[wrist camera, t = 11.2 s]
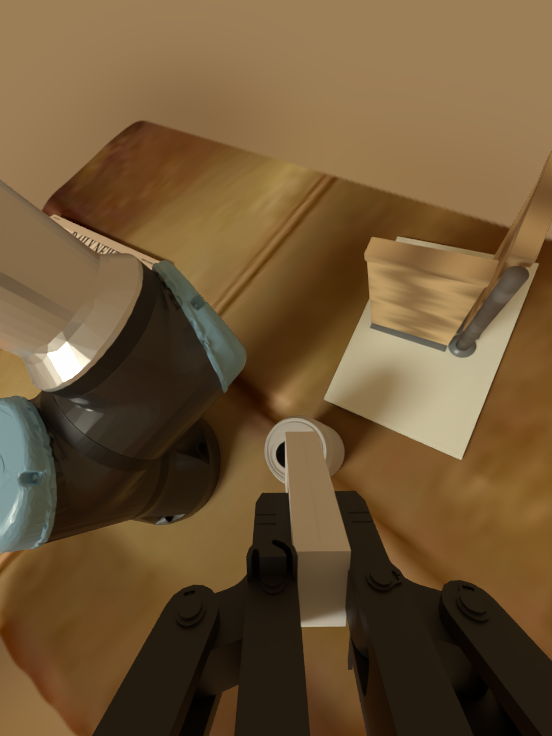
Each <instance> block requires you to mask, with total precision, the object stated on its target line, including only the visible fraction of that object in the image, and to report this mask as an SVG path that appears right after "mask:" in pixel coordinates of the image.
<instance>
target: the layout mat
mask: <svg viewBox="0 0 552 736" xmlns="http://www.w3.org/2000/svg"><path fill="white" fill-rule="evenodd" d="M396 241H397V242H402V243H408V244H413V245H418V246H424V247H429V248H434V249H440V250H445V251H450V252H455V253H461V254H466V255H471V256H477V257H482V258H487V259H493V257H494V255H492V254H487V253H482V252H477V251H472V250H466V249H461V248H456V247H451V246H446V245H440V244H435V243H430V242H425V241H420V240H414V239H409V238H404V237H399V236H398V237H397V239H396ZM538 265H539V263H533V264H532V265H531V267H526V269H527V270H528V272H529V278H528V280H527V281H526V282H525V283H524V284H523V285H522V287H521V288H520V289H519V290H518V291H517V292H516V294H515V295H514V296H513V297H512V298H511V300H510V301H509V302H508V303H507V304H506V305H505V307H504V308H503V309H502V310H501V311H500V312H499V314H498V315H497V316H496V317H495V318H494V319H493V321H492V322H491V323H490V324H489V325H488V326H487V328H486V329H485V330H484V331H483V332H482V333H481V335H480V336H479V337H478V338H477V339H476V340H475V342H474V343H473V344H472V345H471V346H470V348H469V349H468V350H465V351H461V350H459V349H457V347H456V342H457V341H458V339H459V338H460V337H461V335H462V334H463V332H464V331H463V327H464V325H465V322H466V320H467V318H468V315H469V313H470V311H469V313H468V314H467V316H466V318H465V319H464V321H463V322H462V324H461V326H460V327H459V329H458V330H457V332H456V333H455V335H454V337H453V338H452V340H451V341H450V343H449V344H448V346H447V345H444V344H440V343H437V342H434V341H430V340H427V339H424V338H420V337H417V336H414V335H410V334H407V333H404V332H400V331H397V330H394V329H390V328H387V327H384V326H380V325H377V324H374V323H371V309H370V298H369V301H368V303H367V305H366V307H365V309H364V312H363V314H362V316H361V318H360V320H359V323H358V325H357V327H356V329H355V331H354V334H353V336H352V338H351V340H350V342H349V345H348V347H347V349H346V351H345V353H344V356H343V358H342V360H341V362H340V364H339V367H338V369H337V371H336V373H335V375H334V378H333V380H332V382H331V384H330V386H329V389H328V391H327V393H326V395H325V397H324V400H326V401H328V402H330V403H332V404H335V405H337V406H339V407H341V408H344V409H346V410H348V411H351V412H353V413H355V414H357V415H360V416H362V417H364V418H366V419H369V420H371V421H373V422H375V423H378V424H380V425H382V426H384V427H387V428H389V429H391V430H394V431H396V432H398V433H400V434H403V435H405V436H407V437H409V438H412V439H414V440H416V441H418V442H421V443H423V444H425V445H428V446H430V447H432V448H434V449H437V450H439V451H441V452H443V453H446V454H448V455H450V456H452V457H455V458H457V459H459V460H461V459H462V457H463V454H464V452H465V449H466V447H467V444H468V442H469V439H470V437H471V434H472V432H473V429H474V427H475V424H476V422H477V419H478V416H479V414H480V411H481V409H482V406H483V404H484V401H485V399H486V396H487V394H488V391H489V389H490V386H491V384H492V381H493V379H494V376H495V374H496V371H497V369H498V366H499V363H500V361H501V358H502V356H503V353H504V351H505V348H506V346H507V343H508V341H509V338H510V336H511V333H512V331H513V328H514V326H515V323H516V321H517V318H518V315H519V313H520V310H521V308H522V305H523V303H524V300H525V298H526V295H527V293H528V290H529V288H530V285H531V283H532V280H533V278H534V275H535V273H536V270H537V267H538Z"/></svg>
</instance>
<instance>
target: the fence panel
mask: <svg viewBox="0 0 552 736" xmlns="http://www.w3.org/2000/svg"><path fill="white" fill-rule="evenodd" d="M364 256H365V261H367V267H368V281H369V295H370V309H371V323H374V324H377V325H380V326H384V327H387V328H390V329H394V330H397V331H400V332H404V333H407V334H410V335H414V336H417V337H420V338H424V339H427V340H430V341H434V342H437V343H440V344H444V345H447V346H448V344H449V343H450V341H451V340H452V338H453V337H454V335H455V333H456V332H457V330H458V329H459V327H460V326H461V324H462V322H463V321H464V319H465V318H466V316H467V314H468V313H469V311H470V310H471V308H472V307H473V305H474V303H475V302H476V300H477V299H478V297H479V296H480V294H481V292H482V291H483V289H484V288H485V287H486V288H487V287H488V285H489V284H490V282H491V280H492V278H493V275H494V273H495V270H496V268H497V265H498V263H499V261H498V260H493V259H487V258H482V257H477V256H471V255H466V254H461V253H455V252H450V251H445V250H440V249H434V248H429V247H424V246H418V245H413V244H408V243H402V242H397V241H392V240H387V239H381V238H376V237H372V238H371V240H370V242H369V244H368V246H367V249H366V251H365V253H364ZM528 278H529V272H528V270H527V269H526V268H524V267H522V266H512V267H510V268H508V269H507V270H506V272H505V273H504V275H503V276H502V277H501V279H500V280H499V282H498V283H497V285H496V286H495V288H494V289H493V290H492V292H491V293H490V295H489V296H488V298H487V299H486V301H485V302H484V303H483V305H482V306H481V308H480V309H479V311H478V312H477V313H476V315H475V316H474V318H473V319H472V321H471V322H470V324H469V325H468V326H467V328H466V329H465V331H464V332H463V334H462V335H461V337H460V338H459V339H458V341H457V342H456V347H457V349H459V350H461V351H465V350H468V349H469V348H470V346H471V345H472V344H473V343H474V342H475V340H476V339H477V338H478V337H479V336H480V335H481V333H482V332H483V331H484V330H485V329H486V328H487V326H488V325H489V324H490V323H491V322H492V321H493V319H494V318H495V317H496V316H497V315H498V314H499V312H500V311H501V310H502V309H503V308H504V307H505V305H506V304H507V303H508V302H509V301H510V300H511V298H512V297H513V296H514V295H515V294H516V292H517V291H518V290H519V289H520V288H521V287H522V285H523V284H524V283H525V282H526V281H527V280H528Z"/></svg>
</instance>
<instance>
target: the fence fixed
mask: <svg viewBox="0 0 552 736" xmlns="http://www.w3.org/2000/svg"><path fill="white" fill-rule="evenodd" d="M551 221H552V151H551V153H550V155H549V157H548V158H547V160H546V163H545V165H544V167H543V170H542V172H541V175H540V178H539V180H538V181H537V183H536V185H535V187H534V188H533V190H532V192H531V193H530V195H529V197H528V199H527V200H526V202H525V204H524V206H523V207H522V209H521V211H520V212H519V214H518V216H517V218H516V219H515V221H514V223H513V224H512V226H511V228H510V230H509V231H508V233H507V235H506V236H505V238H504V240H503V242H502V243H501V245H500V247H499V249H498V250H497V252H496V254H495V255H494V257H493V260H498V261H499V263H498V265H497V268H496V270H495V273H494V275H493V278H492V280H491V282H490V284H489V285H488V287H487V288H486V287H485V288H484V289H483V291H482V292H481V294H480V296H479V297H478V299H477V300H476V302H475V303H474V305H473V307H472V308H471V310H470V313H469V315H468V318H467V320H466V322H465V325H464V327H463V331H465V329H466V328H467V326H468V325H469V324H470V322H471V321H472V319H473V318H474V316H475V315H476V313H477V312H478V311H479V309H480V308H481V306H482V305H483V303H484V302H485V301H486V299H487V298H488V296H489V295H490V293H491V292H492V290H493V289H494V288H495V286H496V285H497V283H498V282H499V280H500V279H501V277H502V276H503V275H504V273H505V272H506V270H507V269H508V268H510V267H512V266H522V267H524V268H526V267H531V265H532V264H533V263H534V262H535V261H536V259H537V257H538V254H539V252H540V249H541V247H542V244H543V242H544V239H545V237H546V234H547V231H548V229H549V226H550V224H551Z"/></svg>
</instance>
